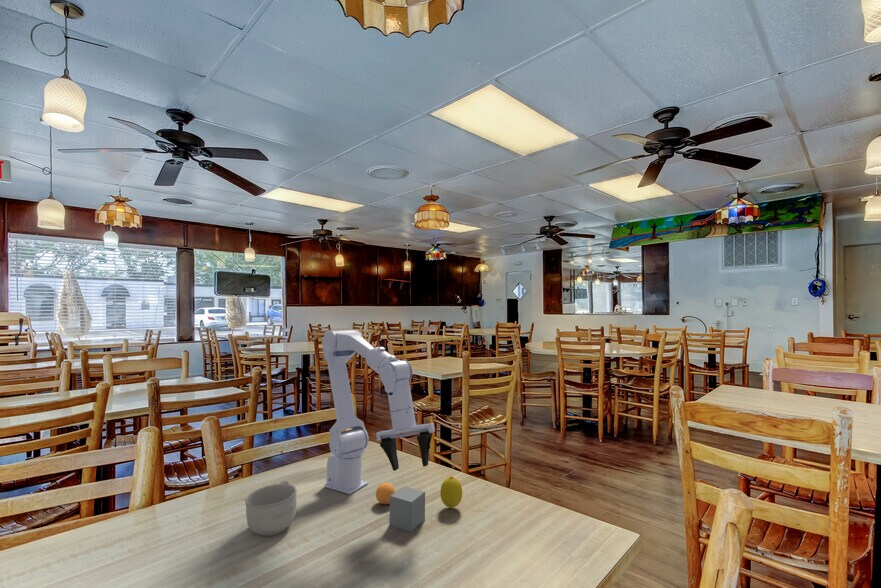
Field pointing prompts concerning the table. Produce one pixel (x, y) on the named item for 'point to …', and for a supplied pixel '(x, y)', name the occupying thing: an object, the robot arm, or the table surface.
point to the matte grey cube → (407, 508)
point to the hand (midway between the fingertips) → (410, 467)
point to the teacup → (271, 508)
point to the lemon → (451, 492)
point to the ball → (384, 493)
